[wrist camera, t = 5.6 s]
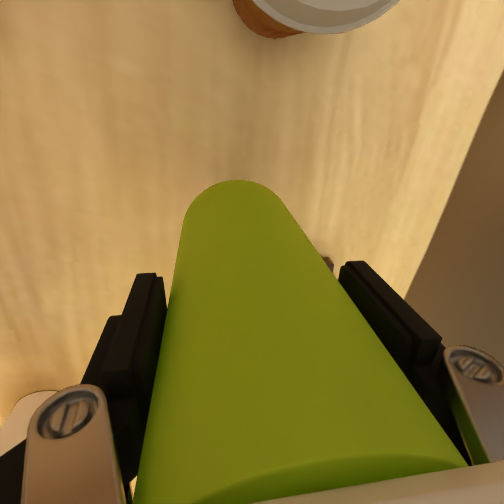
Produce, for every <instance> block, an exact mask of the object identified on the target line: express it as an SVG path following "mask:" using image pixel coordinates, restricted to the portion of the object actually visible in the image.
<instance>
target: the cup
mask: <svg viewBox="0 0 504 504" xmlns="http://www.w3.org/2000/svg"><path fill="white" fill-rule="evenodd" d="M56 392H57V391H41V392H36V393H32V394H29V395H27V396H25V397H23V398H22V399H20V400H19V401H18V402H17V403H16V405H15V406H14V408H13V409H12V411H11V412H10V414H9V415H8V417H7V419H6V420H5V422H4V423H3V425H2V426H1V428H0V456H2V455H3V454H5V453H6V452H7V451H9V450H10V449H12V448H13V447H15V446H16V445H17V444H19V443H20V442H22V441H23V440H24V439H26V437H27V428H28V425H29V421H30V419H31V417H32V415H33V414H34V412H35V411H36V409H37V408H38V407H39V406H40V405H41V404H42V403H43V402H44V401H45V400H46V399H48V398H49V397H51V396H52V395H54V394H55V393H56Z"/></svg>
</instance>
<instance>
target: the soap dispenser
mask: <svg viewBox="0 0 504 504" xmlns="http://www.w3.org/2000/svg"><path fill="white" fill-rule="evenodd" d="M462 467H468V464H467V463H466V461H465V460H464V458H463V457H462V456H461V454H460V453H459V451H458V450H457V449H456V447H455V446H454V444H453V443H452V441H451V440H450V439H449V437H448V436H447V434H446V433H445V432H444V430H443V429H442V427H441V426H440V424H439V423H438V422H437V420H436V419H435V417H434V416H433V415H432V413H431V412H430V410H429V409H428V407H427V406H426V405H425V403H424V402H423V400H422V399H421V398H420V396H419V395H418V393H417V392H416V390H415V389H414V388H413V386H412V385H411V383H410V382H409V381H408V379H407V378H406V376H405V375H404V373H403V372H402V371H401V369H400V368H399V366H398V365H397V364H396V362H395V361H394V359H393V358H392V356H391V355H390V354H389V352H388V351H387V349H386V348H385V347H384V345H383V344H382V342H381V341H380V339H379V338H378V337H377V335H376V334H375V332H374V331H373V330H372V328H371V327H370V325H369V324H368V322H367V321H366V320H365V318H364V317H363V315H362V314H361V313H360V311H359V310H358V308H357V307H356V305H355V304H354V303H353V301H352V300H351V298H350V297H349V296H348V294H347V293H346V291H345V290H344V288H343V287H342V286H341V284H340V283H339V281H338V280H337V279H336V277H335V276H334V274H333V273H332V271H331V270H330V269H329V267H328V266H327V264H326V263H325V262H324V260H323V259H322V257H321V256H320V254H319V253H318V252H317V250H316V249H315V247H314V246H313V245H312V243H311V242H310V240H309V239H308V237H307V236H306V235H305V233H304V232H303V230H302V229H301V228H300V226H299V225H298V223H297V222H296V220H295V219H294V218H293V216H292V215H291V213H290V212H289V211H288V209H287V208H286V206H285V205H284V203H283V202H282V201H281V199H280V198H279V197H278V196H277V195H276V194H275V193H274V192H273V191H271V190H270V189H268V188H267V187H265V186H263V185H261V184H258V183H255V182H252V181H247V180H230V181H225V182H221V183H218V184H215V185H213V186H211V187H209V188H208V189H206V190H204V191H203V192H202V193H201V194H199V195H198V196H197V197H196V198H195V200H194V201H193V202H192V203H191V205H190V206H189V208H188V210H187V212H186V214H185V217H184V221H183V226H182V231H181V237H180V242H179V248H178V253H177V259H176V264H175V270H174V275H173V281H172V287H171V292H170V298H169V303H168V309H167V314H166V320H165V325H164V331H163V337H162V342H161V348H160V353H159V359H158V364H157V370H156V375H155V381H154V386H153V392H152V398H151V403H150V409H149V414H148V420H147V425H146V431H145V436H144V442H143V448H142V453H141V459H140V464H139V470H138V475H137V481H136V486H135V492H134V497H133V503H132V504H250V503H256V502H261V501H267V500H273V499H278V498H284V497H290V496H296V495H302V494H308V493H313V492H319V491H325V490H331V489H337V488H343V487H349V486H354V485H360V484H366V483H372V482H378V481H384V480H390V479H396V478H402V477H408V476H414V475H420V474H426V473H432V472H438V471H444V470H450V469H456V468H462Z"/></svg>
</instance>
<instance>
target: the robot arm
mask: <svg viewBox="0 0 504 504" xmlns="http://www.w3.org/2000/svg"><path fill="white" fill-rule="evenodd" d="M338 281H339V283H340V284H341V286H342V287H343V288H344V290H345V291H346V293H347V294H348V296H349V297H350V298H351V300H352V301H353V303H354V304H355V305H356V307H357V308H358V310H359V311H360V313H361V314H362V315H363V317H364V318H365V320H366V321H367V322H368V324H369V325H370V327H371V328H372V330H373V331H374V332H375V334H376V335H377V337H378V338H379V339H380V341H381V342H382V344H383V345H384V347H385V348H386V349H387V351H388V352H389V354H390V355H391V356H392V358H393V359H394V361H395V362H396V364H397V365H398V366H399V368H400V369H401V371H402V372H403V373H404V375H405V376H406V378H407V379H408V381H409V382H410V383H411V385H412V386H413V388H414V389H415V390H416V392H417V393H418V395H419V396H420V398H421V399H422V400H423V402H424V403H425V405H426V406H427V407H428V409H429V410H430V412H431V413H432V415H433V416H434V417H435V419H436V420H437V422H438V423H439V424H440V426H441V427H442V429H443V430H444V432H445V433H446V434H447V436H448V437H449V439H450V440H451V441H452V443H453V444H454V446H455V447H456V449H457V450H458V451H459V453H460V454H461V456H462V457H463V458H464V460H465V461H466V463H467V464H468V467H462V468H456V469H450V470H444V471H438V472H432V473H426V474H420V475H414V476H408V477H402V478H396V479H390V480H384V481H378V482H372V483H366V484H360V485H354V486H349V487H343V488H337V489H331V490H325V491H319V492H313V493H308V494H302V495H296V496H290V497H284V498H278V499H273V500H267V501H261V502H256V503H250V504H504V366H503V365H502V364H501V363H500V362H499V361H497V360H496V359H495V358H494V357H492V356H490V355H489V354H487V353H485V352H483V351H481V350H478V349H476V348H473V347H469V346H465V345H452V346H449V347H447V348H445V347H444V346H443V345H442V344H441V340H442V337H441V336H440V335H439V334H438V333H437V332H436V331H435V330H434V329H433V328H432V327H430V325H429V324H428V323H427V322H425V320H423V319H422V318H421V317H420V316H419V315H418V314H417V313H416V312H415V311H414V310H413V309H412V308H411V307H410V306H409V305H408V304H407V303H406V302H405V301H404V300H403V299H402V298H401V297H400V296H399V295H398V294H397V293H396V292H395V291H394V290H393V289H392V288H391V287H390V286H389V285H388V284H387V283H386V282H385V281H384V280H383V279H382V278H381V277H380V276H379V275H378V274H377V273H376V272H375V271H374V270H373V269H372V268H371V267H370V266H369V265H368V264H367V263H366V262H365V261H348V262H346V264H345V266H341V268H340V273H339V279H338ZM166 314H167V305H166V297H165V290H164V282H163V277H157V275H156V273H141V274H137V275H136V278H135V280H134V283H133V286H132V288H131V291H130V294H129V297H128V299H127V302H126V305H125V307H124V310H123V313H122V315H116V316H110V317H109V319H108V320H107V323H106V325H105V327H104V330H103V332H102V334H101V337H100V339H99V341H98V344H97V346H96V348H95V351H94V353H93V355H92V358H91V360H90V362H89V365H88V367H87V369H86V372H85V374H84V376H83V379H82V381H81V383H80V384H78V385H74V386H71V387H67V388H65V389H63V390H61V391H59V392H56V393H55V394H54V395H52V396H51V397H49V398H48V399H46V400H45V401H44V402H43V403H42V404H41V405H40V406H39V407H38V408H37V409H36V411H35V412H34V414H33V415H32V417H31V419H30V421H29V425H28V428H27V437H26V439H24V440H23V441H22V442H20V443H19V444H17V445H16V446H15V447H13V448H12V449H10V450H9V451H7V452H6V453H5V454H3V455H2V456H0V504H132V503H133V492H132V487H131V481H132V480H133V479H134V478H135V477H136V476H137V475H138V470H139V464H140V459H141V453H142V448H143V442H144V436H145V431H146V425H147V420H148V414H149V409H150V403H151V398H152V392H153V386H154V381H155V375H156V370H157V364H158V359H159V353H160V348H161V342H162V337H163V331H164V325H165V320H166Z"/></svg>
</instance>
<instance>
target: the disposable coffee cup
mask: <svg viewBox="0 0 504 504" xmlns="http://www.w3.org/2000/svg"><path fill="white" fill-rule="evenodd" d="M232 1H233V4H234V6H235V8H236V11H237V13H238V14H239V16H240V17H241V19H242V20H243V22H244V23H245V24H246V25H247V26H248V27H249V28H250V29H251V30H253V31H254V32H256V33H257V34H259V35H261V36H264V37H267V38H273V39H276V38H284V37H287V36H291V35H295V34H300V33H303V32H307V33H312V34H335V33H343V32H346V31H349V30H352V29H355V28H359V27H361V26H363V25H365V24H367V23H369V22H371V21H373V20H375V19H377V18H378V17H380V16H381V15H383V14H384V13H385V12H386V11H388V10H389V9H390V8H391V7H393V6H394V5H395V4H396V3H398V1H399V0H232Z"/></svg>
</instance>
